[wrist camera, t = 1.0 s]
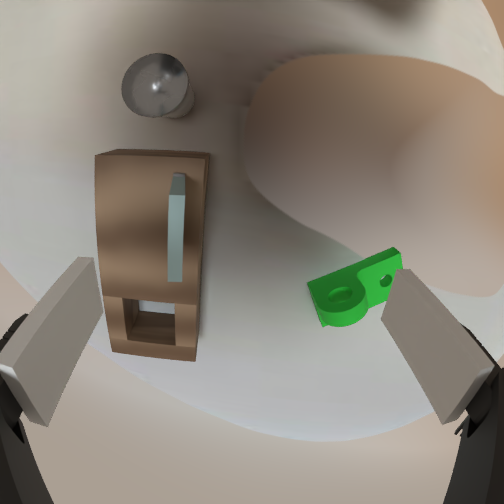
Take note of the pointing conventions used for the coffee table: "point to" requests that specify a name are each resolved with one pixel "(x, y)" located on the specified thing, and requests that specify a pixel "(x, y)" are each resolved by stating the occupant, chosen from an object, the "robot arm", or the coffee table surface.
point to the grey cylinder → (158, 87)
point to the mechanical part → (354, 288)
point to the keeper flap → (176, 227)
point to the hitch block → (149, 249)
